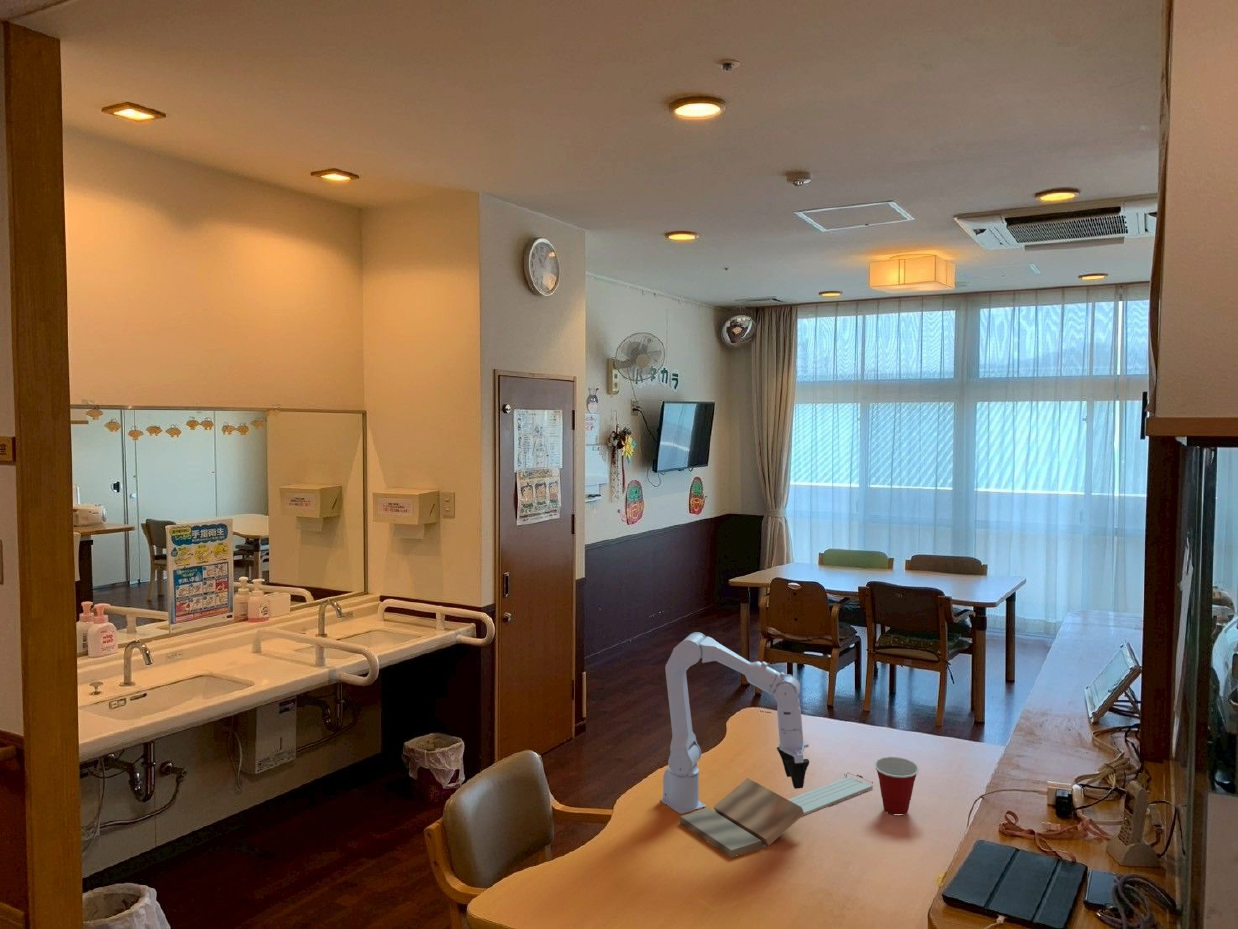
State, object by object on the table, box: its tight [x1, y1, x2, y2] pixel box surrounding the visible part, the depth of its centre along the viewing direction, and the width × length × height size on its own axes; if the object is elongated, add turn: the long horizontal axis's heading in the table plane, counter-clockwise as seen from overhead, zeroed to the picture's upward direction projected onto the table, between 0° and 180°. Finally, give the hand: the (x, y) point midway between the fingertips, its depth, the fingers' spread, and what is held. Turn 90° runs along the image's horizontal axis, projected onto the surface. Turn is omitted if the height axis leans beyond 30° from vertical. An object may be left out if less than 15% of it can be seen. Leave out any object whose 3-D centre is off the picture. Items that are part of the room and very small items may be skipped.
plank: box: [713, 777, 805, 847], centre depth 220 cm, size 20×12×2 cm, turn 31°
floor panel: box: [679, 808, 768, 859], centre depth 214 cm, size 20×10×2 cm, turn 31°
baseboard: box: [788, 772, 874, 816], centre depth 236 cm, size 30×3×10 cm
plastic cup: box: [873, 756, 920, 815], centre depth 228 cm, size 11×11×12 cm
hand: (794, 782), depth 221 cm, fingers open, 7 cm apart
